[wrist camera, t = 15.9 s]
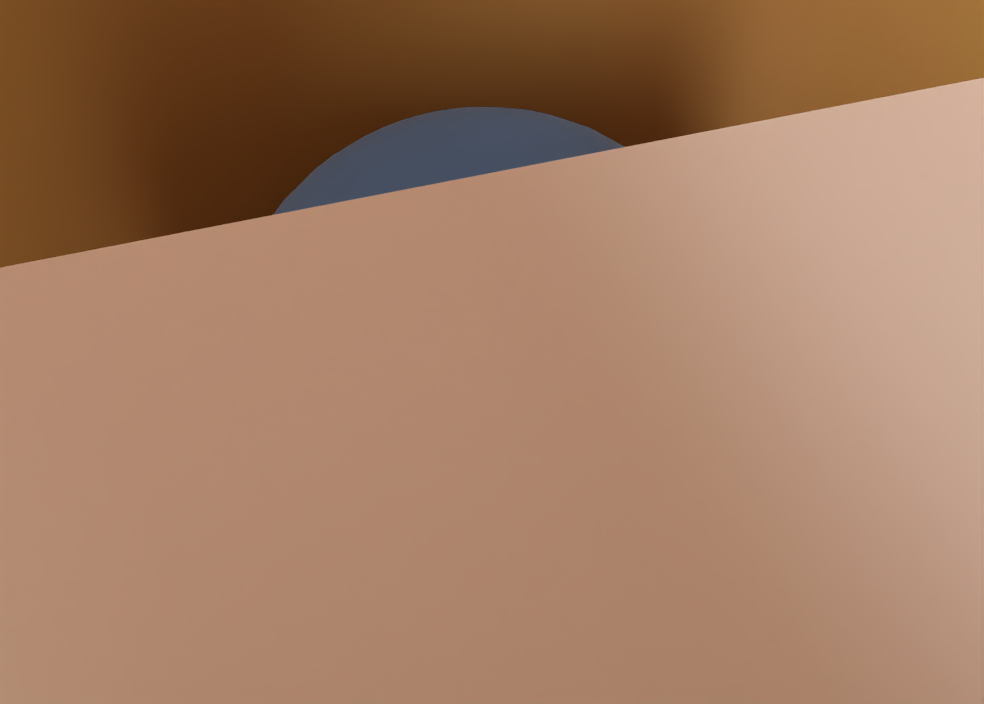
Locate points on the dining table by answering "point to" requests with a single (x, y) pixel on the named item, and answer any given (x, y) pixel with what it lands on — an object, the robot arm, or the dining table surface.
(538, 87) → the dining table surface
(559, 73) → the dining table surface
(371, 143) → the ball
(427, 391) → the pale pink cube
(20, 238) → the dining table surface
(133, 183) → the dining table surface
